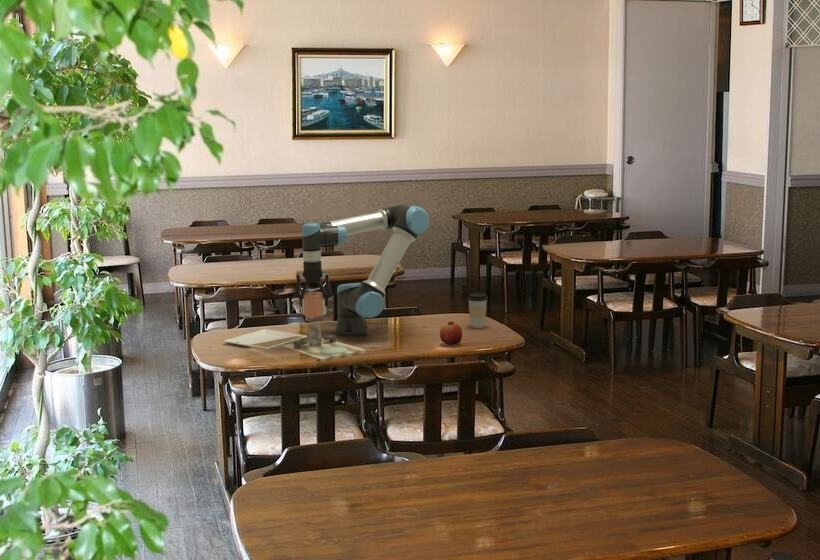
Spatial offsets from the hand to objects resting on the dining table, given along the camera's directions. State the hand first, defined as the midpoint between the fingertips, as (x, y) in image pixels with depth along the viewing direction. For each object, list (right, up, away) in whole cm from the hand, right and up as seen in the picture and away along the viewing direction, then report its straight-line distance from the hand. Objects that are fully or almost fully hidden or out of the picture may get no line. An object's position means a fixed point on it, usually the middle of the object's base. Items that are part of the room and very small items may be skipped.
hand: (314, 313), depth 414 cm
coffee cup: (+71, -8, +36) cm, 80 cm away
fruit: (+58, -14, +4) cm, 60 cm away
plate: (-23, -13, +15) cm, 30 cm away
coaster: (+9, -15, -8) cm, 20 cm away
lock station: (+4, -15, -2) cm, 16 cm away
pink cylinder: (0, 0, 0) cm, 0 cm away
